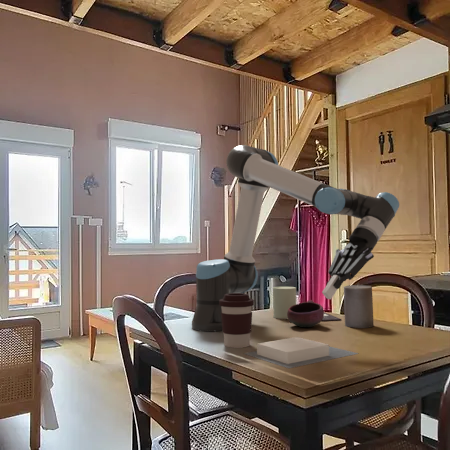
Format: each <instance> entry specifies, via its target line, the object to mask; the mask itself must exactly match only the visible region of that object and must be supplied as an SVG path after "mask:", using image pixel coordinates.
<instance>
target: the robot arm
mask: <svg viewBox="0 0 450 450" xmlns="http://www.w3.org/2000/svg"><path fill="white" fill-rule="evenodd" d="M225 163H226V167H227V170H228V172H229V173H230V175H231V176H233V177H234V178H238V180H237V184H238V186H239V187H240V192H239V197H238V202H237V209H236V215H235V219H234V223H233V230H232V235H231V241H230V247H229V251H228V252H226V253H225V254H224V257H223V259H222V258H220V259H218V258H217V259H212V260H210V259H209V260H208V259H207V260H204V261H201V262H199V263H198V264H197V265H196V270H195V271H196V272H195V279H196V280H195V285H196V289H195V290H196V291H195V292H196V307H195V311H194V314H193V316H192V321H191V329H193V330H195V331H201V332H219V331H220V332H221V331H222V332H223V330H222V318H221V312H222V308H221V306H220V305H219V300H220V299H223V298H224V295H225V294H229V293H246V292H248V291H251V290H252V289H253V288H254V287H255V286H256V284H257V282H258V279H259V272H258V270H257V267H256V264H255V263H256V259H255V258H254V257H253V252H254V247H255V242H256V238H257V232H258V226H259V221H260V215H261V209H262V205H263V199H264V194H265V192H267V191H268V190H269V189H270V188H271V189H273V190H275V191H278V192H280V193H282V194H285V195H287V196H289V197H291V198H294V199H296V200H298V201H301V202H303V203H305V204H308V205H310V206H312V207H315V208H316V209H318V211H320V213H324V214H326V215H341V216H350V217H354V218H357V219H360V221H359V222H358V224H357V225H356V226H355V228H354V229H353V230H352V232H351V233H350V235H349V237H348V243H347V244H346V245H345V246H344V247H343V249H340V248H337V249H336V250H335V255H334V257H333V260H332V262H331V264H330V267H329V269H328V272H327V273H328V274H329V275H330V278H329V280H328V281H327V282H326V286H325V287H324V288H323V290H322V292H321V293H322V294H323V295H322V296H324V297H325V298H326V299H327V300H332V299H333V297H334V295H335V294H336V293H337V290H338V289H340V288H341V287H342V285H343V283H344V282H346V281H347V280H349V281H351V280H353V279H354V277H355V276H357V274H358V273H359V272H360V271H361V270H362V269H363V268H364V266H365V265H366V264H367V263H368V262H370V260H372V259H374V257H375V255H374V253H373V252H372V251H373V250H374V248H375V247H376V245H377V244H378V242H379V241H380V239H381V238H382V236H383V234H384V233H385V231H386V229H387V228H388V226H389V225H390V223H391V222H392V220H393V218H395V216H396V213H397V212H398V210H399V207H400V202H399V200H398V198H397V196H396V195H394V194H393V193H390V192H387V191H383V192H379V193H378V194H376V196H369V195H365V194H362V193H359V192H356V191H352V190H350V189H343V188H337V187H334V186H332V185H328V184H327V183H326V184H325V183H323V182H321V181H318V180H315V179H313V178H311V177H308V176H306V175H304V174H301V173H299V172H296V171H294V170H290V169H288V168H286V167H283V166H281V165H279V162H278V159H277V158H276V156H275V155H274V154H273V153H272V152H271V151H268V150H266V149H263V148H259V147H258V148H257V147H253V146H250V145H248V144H247V145H245V144H241V145H237V146H234V147H233V148H232V149H231V150H230V151H229V152H228V154H227V157H226V162H225Z"/></svg>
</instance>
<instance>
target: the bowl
mask: <svg viewBox="0 0 450 450" xmlns="http://www.w3.org/2000/svg"><path fill="white" fill-rule="evenodd" d="M324 311H325V310H324V308H323V305H321V304H319V303H318V302H314V300H312V299H309V300H307V301H303V302H301V303H296V305H293V306H291V307H290V308H289V309H288V312H287V317H288V319H287V320H288V321H289V322H290V323H291V324H292V325H294V326H297V327H300V328H311V327H314V326H316V325H319V324H320V323H321V322H323V321H322V319H323V317H324Z"/></svg>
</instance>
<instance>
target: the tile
mask: <svg viewBox="0 0 450 450" xmlns="http://www.w3.org/2000/svg"><path fill="white" fill-rule="evenodd" d="M329 346H330V344H328V343H324V342H320V341H315V340H313V339H307V338H302V337H299V336H294V337H289V338H282V339H277V340H272V341H265V342H258V343H256V351H257V354H258V355H261V356H264V357H267V358H270V359H273V360H277V361H280V362H283V363H286V364H290V363H295V362H300V361H305V360H310V359H314V358H319V357H324V356H329Z"/></svg>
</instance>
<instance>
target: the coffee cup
mask: <svg viewBox="0 0 450 450" xmlns="http://www.w3.org/2000/svg"><path fill="white" fill-rule="evenodd" d="M219 305H220V306H221V308H222V312H221V318H222V330H223V331H222V333H223V344H224V345H223V346H225V347H227V348H235V349H237V348H245V347H246V348H247V347H249V346H250V345H251V333H252V325H253V324H252V323H253V311H252V310H253V309H252V307H253V306H254V305H255V300H254V299H253V298H250V296H249V294H248V293H246V292H244V293H229V294H225V295H224V298H223V299H220V300H219Z"/></svg>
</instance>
